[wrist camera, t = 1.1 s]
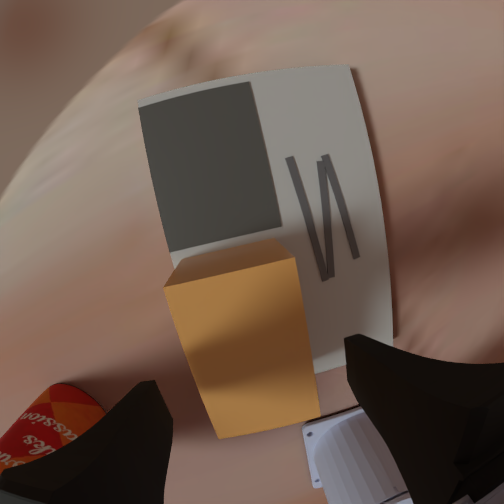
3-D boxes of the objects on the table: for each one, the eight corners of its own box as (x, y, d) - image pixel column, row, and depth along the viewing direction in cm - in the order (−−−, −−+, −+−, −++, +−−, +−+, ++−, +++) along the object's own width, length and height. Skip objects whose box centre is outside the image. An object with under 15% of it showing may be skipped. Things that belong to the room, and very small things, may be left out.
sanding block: (298, 365, 18) (320, 416, 13) (219, 383, 18) (219, 439, 13) (274, 237, 16) (294, 257, 11) (181, 259, 16) (163, 287, 11)
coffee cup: (144, 425, 19) (101, 601, 4) (92, 459, 20) (47, 589, 5) (57, 349, 17) (-63, 497, 3) (19, 396, 18) (-64, 510, 3)
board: (386, 341, 19) (393, 348, 18) (216, 387, 19) (215, 397, 18) (342, 70, 16) (349, 64, 15) (141, 105, 15) (137, 99, 14)
